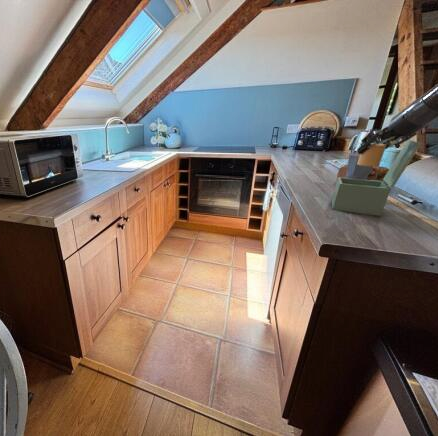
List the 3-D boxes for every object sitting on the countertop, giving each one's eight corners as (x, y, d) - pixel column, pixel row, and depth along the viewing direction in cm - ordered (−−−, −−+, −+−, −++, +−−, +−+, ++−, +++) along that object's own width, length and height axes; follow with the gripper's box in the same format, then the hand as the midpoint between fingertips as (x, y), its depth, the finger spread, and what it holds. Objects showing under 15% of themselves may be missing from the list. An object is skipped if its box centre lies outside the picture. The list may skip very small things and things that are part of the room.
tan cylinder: (363, 163, 89) (370, 143, 87) (383, 165, 84) (390, 144, 81) (352, 164, 87) (359, 144, 85) (372, 167, 82) (379, 145, 80)
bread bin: (332, 209, 91) (340, 183, 87) (331, 200, 100) (338, 177, 96) (380, 216, 84) (391, 188, 80) (374, 206, 93) (383, 181, 89)
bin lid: (418, 142, 73) (421, 143, 73) (407, 139, 82) (410, 140, 82) (390, 186, 80) (393, 187, 80) (382, 179, 89) (385, 180, 89)
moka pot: (347, 199, 101) (362, 149, 93) (328, 189, 115) (340, 145, 107) (373, 200, 99) (390, 150, 92) (350, 189, 114) (364, 145, 106)
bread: (342, 186, 119) (348, 166, 115) (334, 181, 128) (339, 162, 124) (389, 189, 114) (397, 167, 110) (377, 183, 123) (384, 163, 119)
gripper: (434, 105, 72) (381, 143, 88) (389, 105, 71) (344, 143, 87) (447, 124, 69) (391, 160, 85) (400, 125, 68) (352, 161, 84)
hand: (367, 151), depth 86 cm, fingers closed on tan cylinder, 6 cm apart
